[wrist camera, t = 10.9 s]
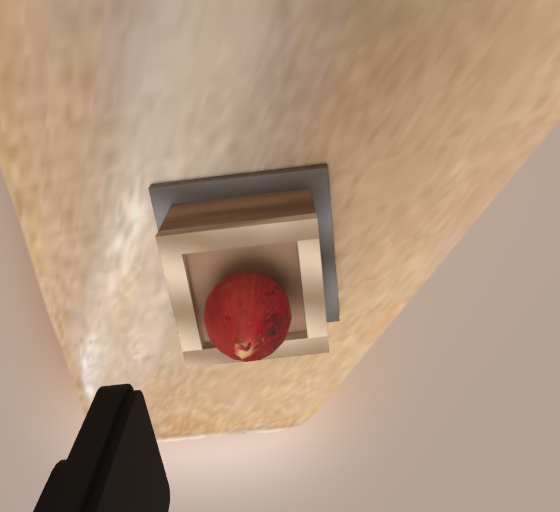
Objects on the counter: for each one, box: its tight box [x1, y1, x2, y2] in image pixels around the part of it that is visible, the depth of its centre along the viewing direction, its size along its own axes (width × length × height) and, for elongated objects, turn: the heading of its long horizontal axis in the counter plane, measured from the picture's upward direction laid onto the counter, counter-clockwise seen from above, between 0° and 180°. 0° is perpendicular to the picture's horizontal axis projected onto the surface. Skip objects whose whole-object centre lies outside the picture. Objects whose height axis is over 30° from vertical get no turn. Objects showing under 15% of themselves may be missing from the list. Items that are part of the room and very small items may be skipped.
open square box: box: [149, 164, 339, 368], centre depth 41 cm, size 14×14×8 cm
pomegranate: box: [203, 273, 292, 362], centre depth 35 cm, size 6×6×8 cm
